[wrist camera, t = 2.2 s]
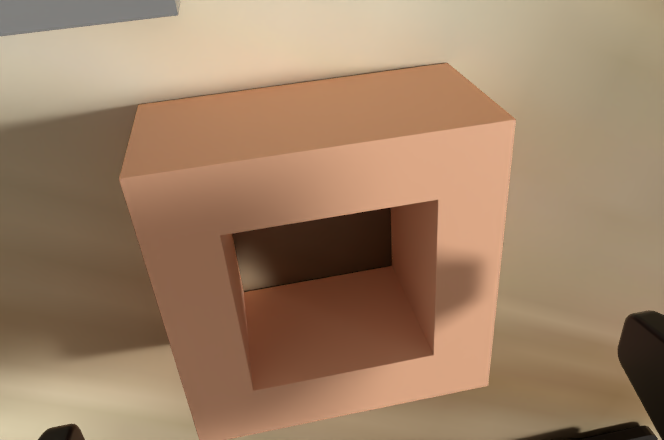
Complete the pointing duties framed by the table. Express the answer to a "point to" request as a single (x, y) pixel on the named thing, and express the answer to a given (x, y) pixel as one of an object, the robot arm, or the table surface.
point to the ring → (317, 203)
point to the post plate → (77, 13)
